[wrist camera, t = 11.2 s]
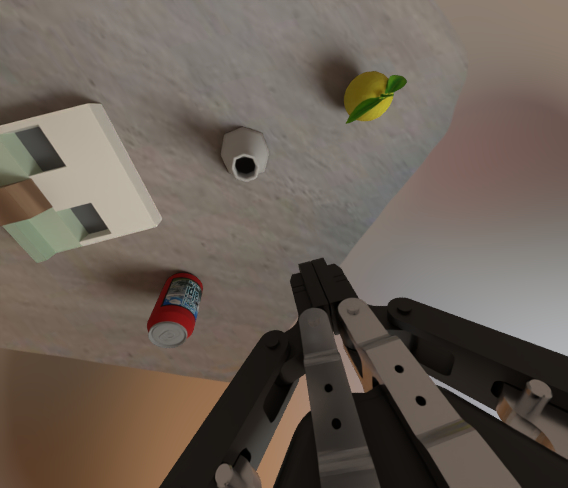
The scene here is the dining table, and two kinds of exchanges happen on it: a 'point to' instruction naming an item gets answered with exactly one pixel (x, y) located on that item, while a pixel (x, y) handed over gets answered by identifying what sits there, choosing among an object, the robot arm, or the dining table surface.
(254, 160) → the flask
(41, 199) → the walnut block
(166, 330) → the beverage can
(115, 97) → the dining table surface
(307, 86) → the dining table surface
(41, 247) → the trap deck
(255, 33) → the dining table surface
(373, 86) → the lemon
